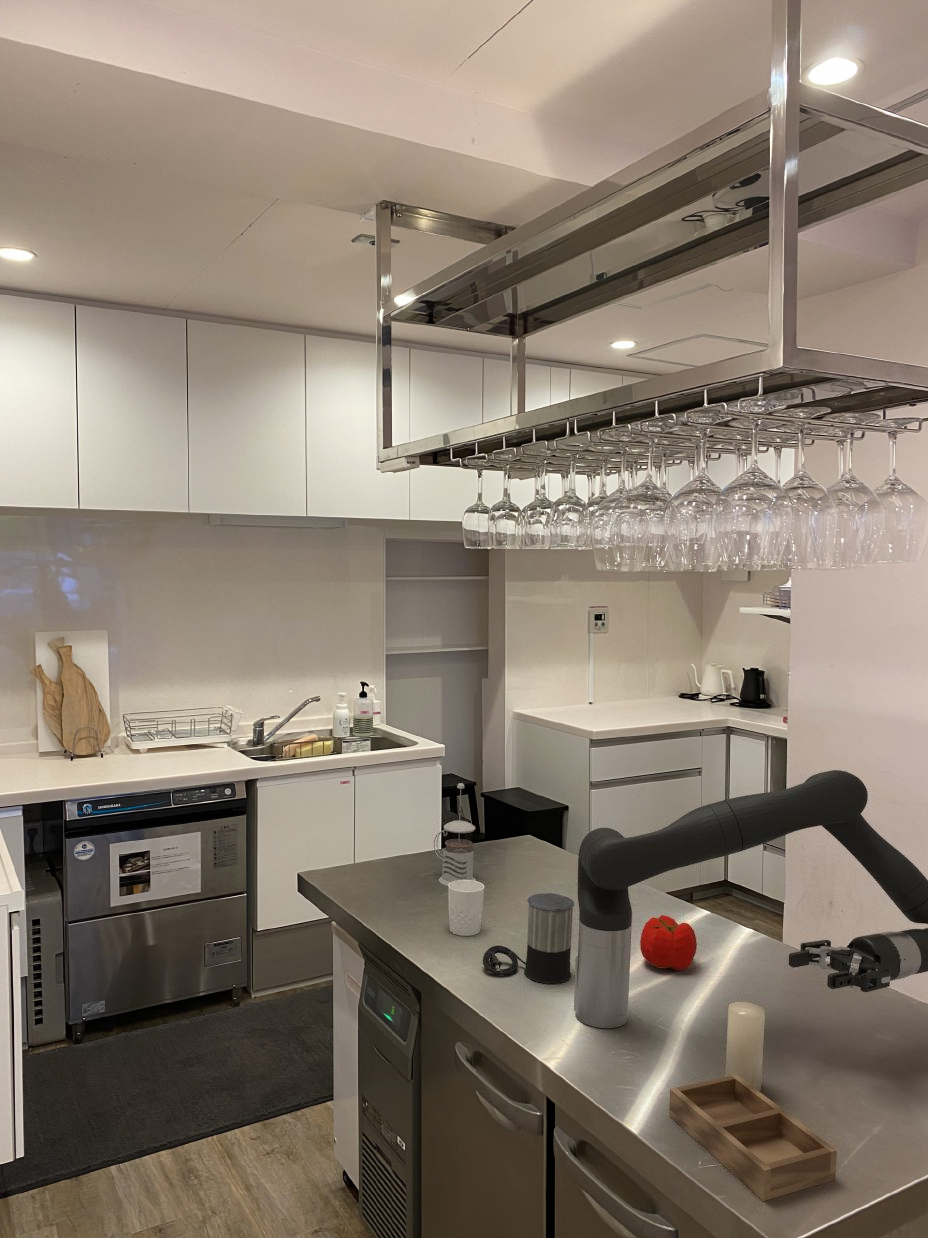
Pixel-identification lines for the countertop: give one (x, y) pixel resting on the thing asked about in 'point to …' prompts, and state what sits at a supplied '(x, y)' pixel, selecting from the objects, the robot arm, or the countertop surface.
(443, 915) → the countertop surface
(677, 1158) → the countertop surface
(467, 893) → the white cup
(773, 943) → the countertop surface
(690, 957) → the tomato
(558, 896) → the milk frother
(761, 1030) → the cream pillar candle
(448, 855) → the french press
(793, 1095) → the countertop surface
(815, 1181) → the wooden divided tray
